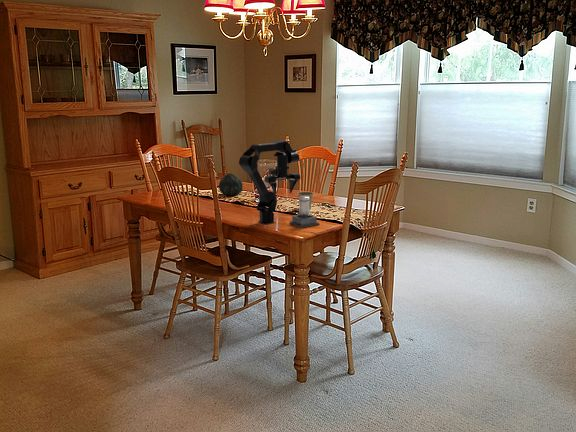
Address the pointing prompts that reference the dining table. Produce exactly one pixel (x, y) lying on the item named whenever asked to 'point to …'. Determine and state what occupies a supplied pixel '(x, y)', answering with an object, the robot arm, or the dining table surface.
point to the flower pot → (306, 195)
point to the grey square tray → (304, 221)
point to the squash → (230, 185)
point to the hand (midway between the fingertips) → (282, 194)
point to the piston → (304, 207)
